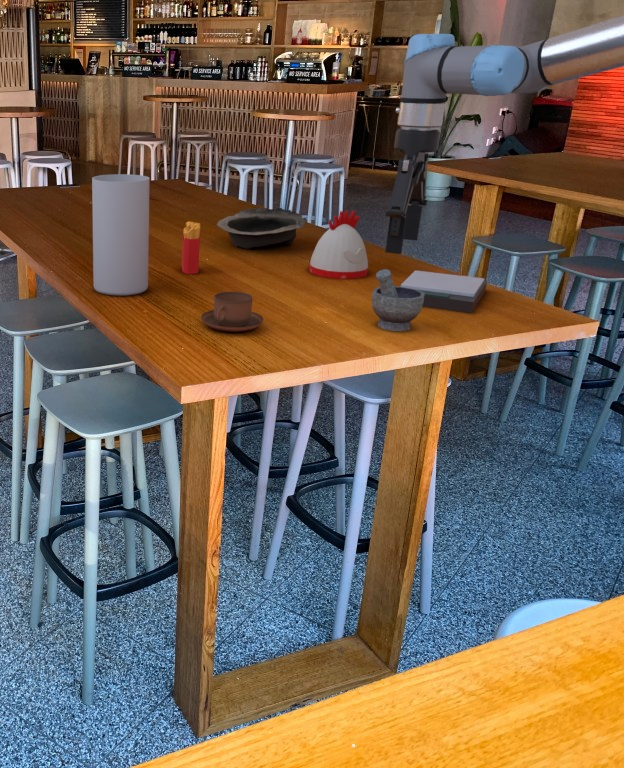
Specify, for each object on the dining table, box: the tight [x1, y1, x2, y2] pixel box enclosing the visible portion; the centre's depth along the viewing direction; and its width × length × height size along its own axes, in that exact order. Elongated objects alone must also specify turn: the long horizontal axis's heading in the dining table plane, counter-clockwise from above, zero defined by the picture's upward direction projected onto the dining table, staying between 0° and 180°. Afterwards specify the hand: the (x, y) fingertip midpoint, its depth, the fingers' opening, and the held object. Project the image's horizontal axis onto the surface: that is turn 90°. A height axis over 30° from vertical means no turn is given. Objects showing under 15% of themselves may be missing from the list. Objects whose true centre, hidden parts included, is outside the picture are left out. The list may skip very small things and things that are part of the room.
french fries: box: [181, 220, 201, 275], centre depth 195 cm, size 8×4×12 cm, turn 2°
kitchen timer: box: [309, 210, 369, 280], centre depth 194 cm, size 14×14×15 cm
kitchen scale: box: [399, 270, 488, 314], centre depth 175 cm, size 20×16×3 cm
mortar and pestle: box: [371, 268, 425, 332], centre depth 153 cm, size 11×9×12 cm
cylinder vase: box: [91, 173, 151, 297], centre depth 177 cm, size 12×12×25 cm
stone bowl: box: [216, 207, 308, 250], centre depth 224 cm, size 25×25×9 cm
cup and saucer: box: [200, 291, 264, 333], centre depth 154 cm, size 12×12×6 cm
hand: (401, 246), depth 149 cm, fingers open, 13 cm apart
